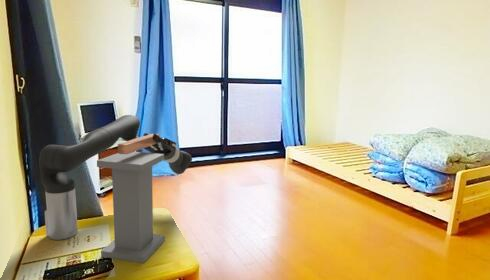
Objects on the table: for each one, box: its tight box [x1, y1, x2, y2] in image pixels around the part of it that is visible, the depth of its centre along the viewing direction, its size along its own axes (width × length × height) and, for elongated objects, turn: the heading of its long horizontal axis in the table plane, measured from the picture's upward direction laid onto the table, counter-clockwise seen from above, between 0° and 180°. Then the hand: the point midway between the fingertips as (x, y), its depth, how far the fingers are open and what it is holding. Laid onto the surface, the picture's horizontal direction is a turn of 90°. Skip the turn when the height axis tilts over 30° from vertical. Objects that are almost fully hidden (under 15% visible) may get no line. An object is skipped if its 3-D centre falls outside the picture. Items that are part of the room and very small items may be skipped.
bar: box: [117, 133, 161, 154], centre depth 107 cm, size 3×22×3 cm, turn 169°
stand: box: [96, 151, 166, 264], centre depth 105 cm, size 15×15×32 cm
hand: (149, 136), depth 113 cm, fingers closed on bar, 3 cm apart
